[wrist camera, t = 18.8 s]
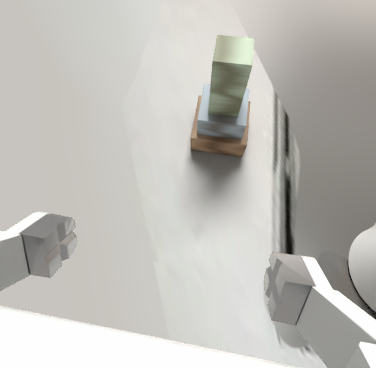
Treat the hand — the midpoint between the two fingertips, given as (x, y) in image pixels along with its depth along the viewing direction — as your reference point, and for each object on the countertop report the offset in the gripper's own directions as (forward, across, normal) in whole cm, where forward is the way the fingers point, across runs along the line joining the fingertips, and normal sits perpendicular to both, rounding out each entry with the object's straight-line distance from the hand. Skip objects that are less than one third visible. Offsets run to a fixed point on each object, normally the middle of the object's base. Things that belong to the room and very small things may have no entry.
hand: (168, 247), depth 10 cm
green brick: (+34, -2, -4) cm, 35 cm away
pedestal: (+40, -2, +1) cm, 40 cm away
